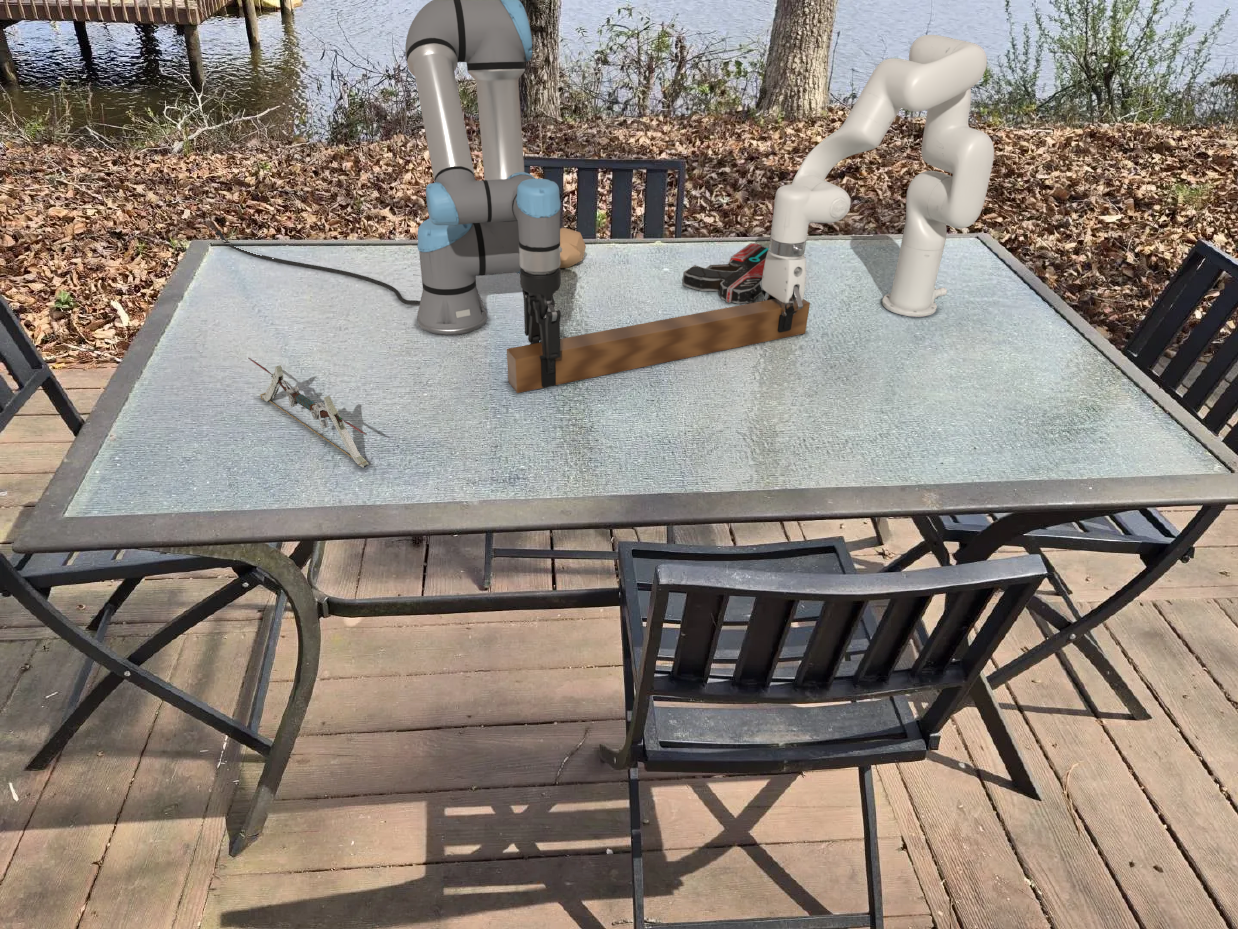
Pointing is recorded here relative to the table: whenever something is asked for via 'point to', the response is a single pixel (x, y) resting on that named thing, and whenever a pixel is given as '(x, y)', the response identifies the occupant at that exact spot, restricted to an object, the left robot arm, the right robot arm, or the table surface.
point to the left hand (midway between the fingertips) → (543, 378)
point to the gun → (732, 275)
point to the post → (654, 343)
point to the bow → (313, 411)
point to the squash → (571, 247)
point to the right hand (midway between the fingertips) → (776, 324)
